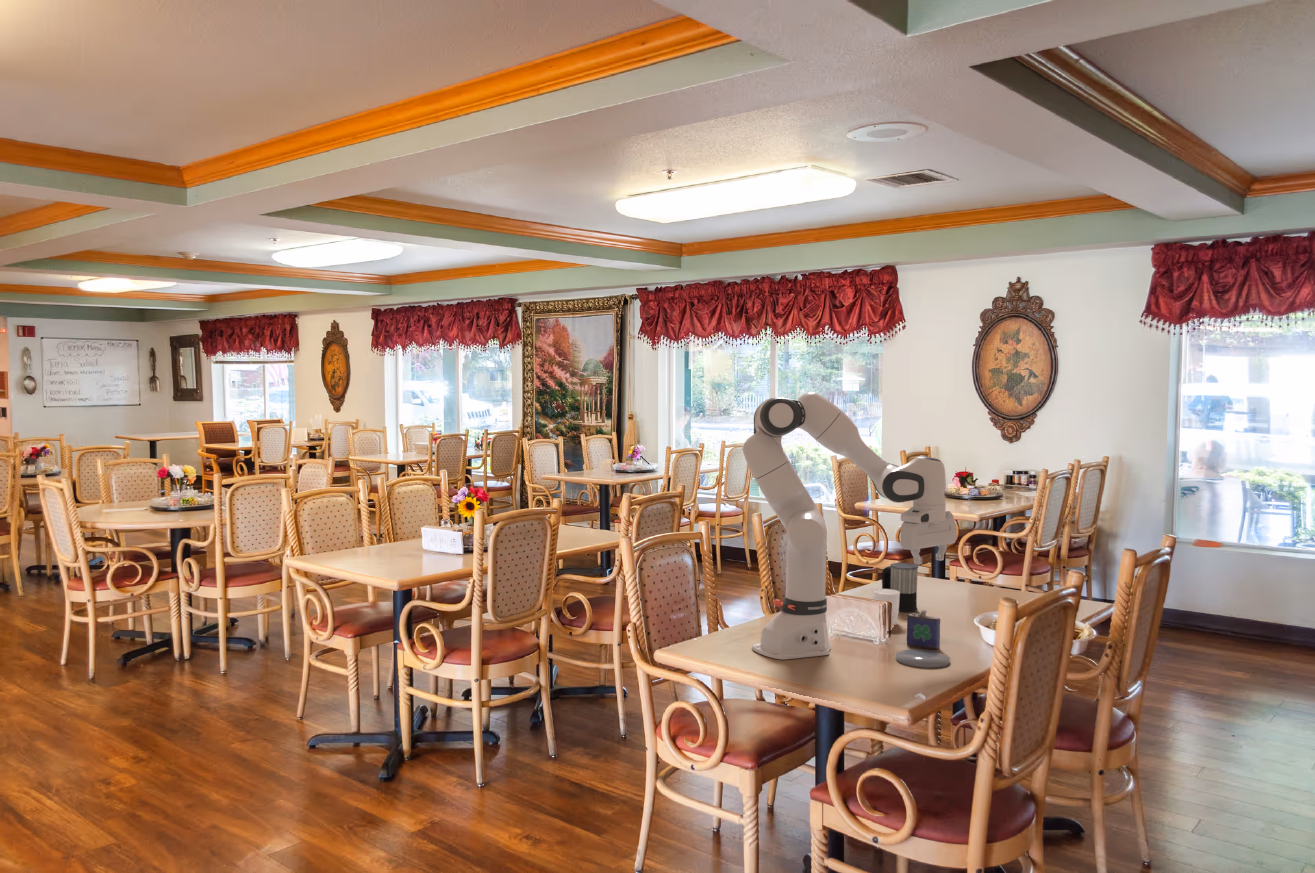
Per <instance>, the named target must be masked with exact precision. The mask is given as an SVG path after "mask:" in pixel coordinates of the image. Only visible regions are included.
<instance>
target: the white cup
mask: <svg viewBox="0 0 1315 873" xmlns="http://www.w3.org/2000/svg"><path fill="white" fill-rule="evenodd" d="M873 598H874V600H884V601H889V602H891V603H892V626H896V625H898V619H899V618H898V617H899V612H900V611H899V598H900V592H899V591H897V590H892V589H882V588H878V589H875V590H873Z"/></svg>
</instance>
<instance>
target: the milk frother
mask: <svg viewBox="0 0 1315 873" xmlns="http://www.w3.org/2000/svg"><path fill="white" fill-rule="evenodd" d="M918 568H919V565H917V564H914V563H907V562H894V563H890V564H889V566H886V567H884V568H883V569H882V572H881V587H882V588H881V589H892V590H897V591H899V592H900V598H899V612H903V613H914V612H916V611H918V607H917V606H918V604H917V603H918V602H917V597H918V596H917V595H918V593H917V592H918V591H917V590H918V570H919V569H918Z"/></svg>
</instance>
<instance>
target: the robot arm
mask: <svg viewBox="0 0 1315 873" xmlns="http://www.w3.org/2000/svg"><path fill="white" fill-rule="evenodd" d="M796 429H800V430H803V431H804V432H806V433H808V435H810V436H811V437H812V438H813V439H814V440H815V441H816V442H818V443H819V444H820V446H823V447H824V448H826V449H827V450H829V451H831V452H833V454H834V453H835V454H836V455H840V456H842V457H844V458H847V459H848V460H850V461H851V462H852V464H854V465H856V467H858V469H860V470H861V471H862V472H863V473H865V475H867V477H868V478H870V481H871V482H872V484H873V486H874V489H875V491H876V492H877V494H878V495H879V496H881V497H883V499H887V500H888V501H890V502H893V503H897V504H900V503H905V502H911V501H912V506H911V507H910V508H908V509H907V510H905V511H904V512H902V513H901V514H900V521H901V522H902V523H901V526H900V532H899V533H900V537H899V538H900V542H899V543H900V546H901V548H902V549H904V550H908V551H910V553H911V555H912V557H913V564H914V565H917V566H919V565H922V564H923V557H921V556H920V553H921V549H926V548H932V547H937V548H938V550H937V553H935V560H936V561H939V562H940V561H944V559H945V553H946V551H947V548H948V545H950V544H955V543H956V540H957V528H956V522H955V520H954V515H953V513H952V512H951V511H949V510H946V505H947V504H946V503H947V502H946V498H945V492H946V486H947V484H946V481H947V480H946V469H945V465H944V463H943V462H942V461H941V460H940V459H938V458H935V457H931V456H925V455H918V456H916V457H915V458H913V459H912V460H910V461H909V462H907V463H904V464H902V465H900V466H899V465H896V464H893V463H889V462H887V461H885V460H883V459H882V458H881V457H880V456H879V455H878V454H877V453H876V452H875V451H873V450H872V449H871V448H870V447H869V446H868V445H867V444H866V443H865V442H864V441H863V439H862V437H861V435H860V432H859V429H858V427H857V425H856V423H855V422H853V420H852V419H851V418H850V416H848V415H847V414H846V413H845V412H844V411H843V410H841V408H839V407H838V406H837V405H836V404H834V403H833V402H832V401H830V400H829V399H827V398H826V397H824V396H822V395H821V394H819V393H818V392H814V391H808V392H806V393H803V394H802V395H800V396H799V397H798V398H797V399H793V398H788V397H782V396H775V397H771V398H770V397H769V398H767V399H766V400H764V401H763V402H761V403H760V404H759V405H758V407H757V408H756V409H755V412H754V414H753V435H750V436H749V437H748V438H747V439H746V440H745V442H744V444H743V446H742V453H743V456H744V458H745V461H746V464H747V465H748V468H749V470H750V473H751V475H752V476H753V479H755V482H756V483H757V485H758V487H759V489H760V490H761V491H760V492H762V494H763V496H764V497H765V499H766V501H767V503H768V505H769V506H770V507H771V509H772V511H773V512H774V514H775V515H776V516H777V518H778V520H779V521H780V522H781V525H782V526H783V528H784V529H785V531H786V533H785V534H786V536H785V538H786V539H785V541H786V543H785V544H786V545H785V548H786V549H785V551H786V552H785V555H786V556H785V559H786V560H785V596H784V598H783V600H782V599H778V598H775V599H774V600H773V605H774V607H778V608H780V611H779V612H778V613H777V614H776V615H774V617H772V619H770V621H769V622H767V623H766V624H765V625H764V626H763V628H762V630H761V633H760V634H761V635H760V642H758V643H757V642H756V643H754V644H752V646H751V647H752V648H751V649H752V650H753V651H754V652H756V653H758V654H760V655H762V656H765V657H768V658H771V659H775V660H776V659H777V660H793V659H802V658H810V657H811V658H812V657H819V656H820V657H821V656H827V655H830V650H831V645H830V641H829V636H828V628H827V618H826V612H827V611H828V603H827V602H828V600H827V597H826V582H827V581H826V576H827V574H826V572H827V547H828V546H827V544H828V541H827V540H828V531H827V525H826V520H825V518H824V517H823V515H822V513H821V511H820V509H818V506H817V505H816V504H815V502H814V500H813V498H812V496H811V495H810V493H809V492H808V490H807V488H806V487H805V485H804V484H803V481H802V480H801V478H800V476H799V474H798V473H797V471H796V470H795V468H794V466H793V464H792V463H791V461H790V459H789V457H788V456H787V454H786V452H785V451H784V448H783V445H782V439H783V437H784V436H785V435H788V434H790V433H791V432H793V431H795V430H796Z"/></svg>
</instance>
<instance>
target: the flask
mask: <svg viewBox="0 0 1315 873" xmlns="http://www.w3.org/2000/svg"><path fill="white" fill-rule="evenodd" d="M927 613H928V611H927V610H926V609H924V610H923V609H922V610H921V611H920V613H917V612H912V613H909V614H907V617H906V620H907V621H906V623H907V624H906V627H907V628H906V647H911V648H915V649H916V648H917V649H922V650H930V651H934V650H935V651H939V650H940V649H941V618H940V617H937V616H929V615H927Z"/></svg>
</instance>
